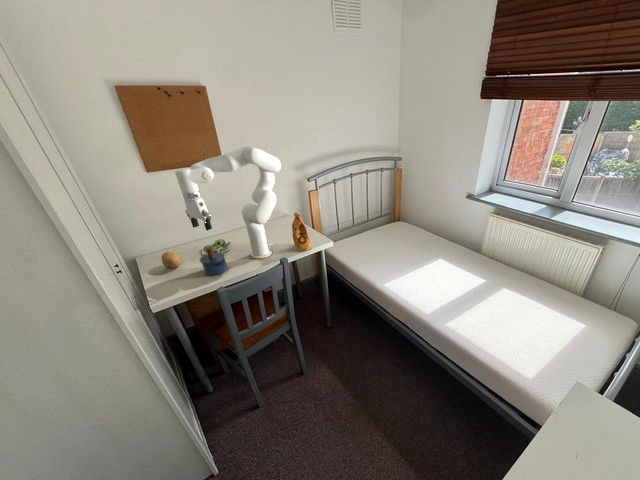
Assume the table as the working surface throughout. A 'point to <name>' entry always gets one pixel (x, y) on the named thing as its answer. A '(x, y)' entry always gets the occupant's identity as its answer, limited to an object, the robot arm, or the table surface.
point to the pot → (215, 268)
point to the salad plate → (217, 247)
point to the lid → (211, 256)
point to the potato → (171, 259)
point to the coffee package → (300, 234)
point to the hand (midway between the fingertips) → (202, 228)
